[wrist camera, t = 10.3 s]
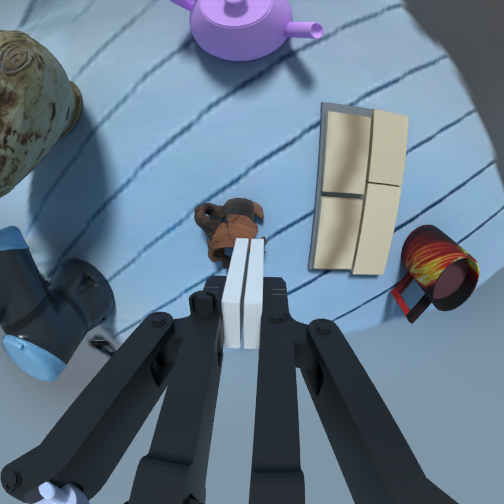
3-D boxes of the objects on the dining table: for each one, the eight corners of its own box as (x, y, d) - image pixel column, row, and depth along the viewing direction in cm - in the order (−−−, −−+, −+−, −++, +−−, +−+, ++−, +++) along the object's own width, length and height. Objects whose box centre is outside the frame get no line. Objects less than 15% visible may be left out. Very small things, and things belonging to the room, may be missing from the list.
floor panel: (307, 266, 45) (309, 273, 43) (321, 102, 34) (324, 101, 32) (379, 268, 45) (383, 274, 43) (402, 116, 33) (408, 116, 31)
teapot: (297, 86, 33) (309, 73, 24) (167, 49, 31) (137, 30, 21) (328, 13, 27) (347, -15, 18) (201, -21, 25) (184, -53, 15)
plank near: (320, 189, 38) (322, 191, 37) (325, 111, 33) (328, 111, 32) (360, 192, 38) (363, 194, 37) (367, 117, 33) (370, 117, 32)
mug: (387, 290, 47) (412, 332, 36) (409, 221, 41) (446, 253, 30) (426, 291, 47) (453, 330, 36) (449, 228, 41) (487, 258, 30)
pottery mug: (282, 213, 42) (278, 259, 38) (246, 239, 49) (239, 280, 44) (215, 173, 37) (201, 219, 32) (186, 207, 44) (171, 250, 39)
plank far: (312, 264, 44) (313, 268, 43) (320, 196, 39) (321, 198, 38) (349, 265, 44) (351, 268, 43) (360, 198, 39) (362, 201, 38)
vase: (138, 38, 29) (-38, 19, 3) (103, 173, 41) (-35, 274, 15) (44, 36, 26) (-87, 53, 1) (24, 146, 38) (-89, 210, 13)
